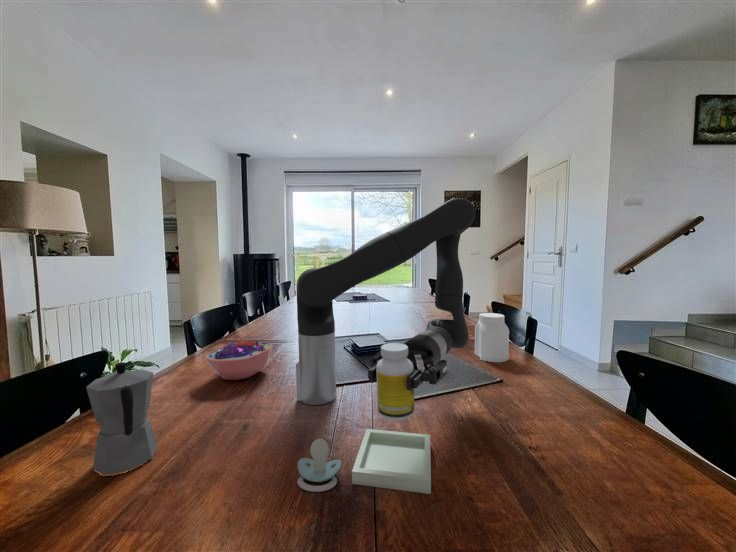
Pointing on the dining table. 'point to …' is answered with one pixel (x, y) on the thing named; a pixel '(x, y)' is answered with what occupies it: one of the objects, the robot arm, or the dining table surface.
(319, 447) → the pacifier
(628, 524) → the dining table surface
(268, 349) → the cell model
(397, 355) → the pill bottle
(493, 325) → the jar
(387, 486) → the dish
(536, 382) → the dining table surface
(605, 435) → the dining table surface
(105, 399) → the coffeepot
